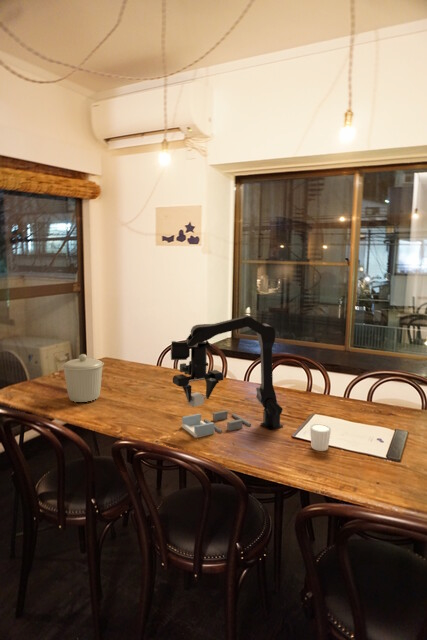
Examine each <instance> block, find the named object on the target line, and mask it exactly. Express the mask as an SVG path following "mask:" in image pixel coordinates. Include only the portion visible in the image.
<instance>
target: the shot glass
mask: <svg viewBox="0 0 427 640" xmlns="http://www.w3.org/2000/svg"><path fill="white" fill-rule="evenodd" d="M309 429H310V444H311V445H310V446H311V448H312V449H313V450H315V451H321V452H323V451H327V450H328V449H329V446H330V445H329V444H330V438H331V430H332V429H331V427H330V426H328V425H326V424H320V423H319V424H317V423H316V424H312V425H310V428H309Z"/></svg>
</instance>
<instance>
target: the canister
mask: <svg viewBox="0 0 427 640" xmlns="http://www.w3.org/2000/svg"><path fill="white" fill-rule="evenodd" d="M104 365H105V362H103V361H101V360H100V359H97V358H90V357H89V358H88V355H86V353H81V354H79V356H78V358H76V359H75V358H73V359H70V360H68V361H66V362H65V363H63V364H62V365H61V368H62V369H63V373H64V378H65V380H64V381H65V386H66V390H67V396H68V399H69V400H70V401H71V402H73V401H74V402H73V403H76V402H87V401H91V402H93V401H92V400H94V401H96V400H97V399H98V398H99V397H100V394H101V387H102V377H103V376H102V375H103V366H104ZM95 399H96V400H95ZM87 403H88V402H87Z"/></svg>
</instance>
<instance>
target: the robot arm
mask: <svg viewBox="0 0 427 640" xmlns="http://www.w3.org/2000/svg"><path fill="white" fill-rule="evenodd" d="M244 328H249V329H251V330H252V331H254V332H255V333H256V338H257V341H258V344H259V348H260V378H261V379H260V385H259V387H256V388H255V390H256V396H255V397H256V399H257V400H258V402H259V403H260V405H262V407H263V418H262V419H263V421H262V422H259V424H260V425H261V426H262V427H264V428H266V429H268V430H276V429H279V428H283V427H284V425H283V424H281V415H282V413H283V410H284V409H283V407H282V406H281V405H280V404H279V403H278V400H277V394H276V391H275V388H274V385H273V384H274V382H273V378H274V377H273V375H274V374H273V347H274V345H275V342H276V341H275V340H276V336H277V332H276V329H275V328H274V327H273V326H271V325H269V324H267V323H261V322H259V321H258V320H256V319H254V318H253V317H252V316H250V315H248V314H244V315H242V316H239V317H235V318H231V319H227V320H223V321H220V322H216V323H204V324H202V323H200V324H196V325H193V326H192V327H191V328H190V333H189V335H188V336H187V338H186V339H185V341H175V340H172V341H171V345H170V346H171V348H170V360H171V361H186V360H187V359H188V358H190V360H189V362H188V364H187V363H185V362H183V363H180V364H179V372H180V373H184V374H175V375H173V377H172V383H173V384H174V385H175V386H177V387H181V388H182V389H183V392H184V394H185V396H186V397H185V398H186V400H187V403H188V402H190V400H191V394H192V387H193V386H192V384H190V382H191V383H192V382H197V381H205V384H206V386H205V387H206V388H205V397H206V398H207V399H206V400H209V399H210V397H211V394H212V393H213V390H214V389H215V387H216V385H218V384H219V383H220V382H221V381H224V378H225V376H224V373H223V372H222V371H220V370H217V369H214V370H213V369H212V370H208V371H207V367H208V366H209V363H208V362H207V358H208V357H207V354H208V351H207V350H208V349H212V348H213V345H212V344H211V343H210V342H209V341H208V340H211V339H213V338H214V337H215V336H216V337H217V336H218V335H221V334H224V333H229V332H232V331H236V330H240V329H244ZM186 375H188V376H186Z"/></svg>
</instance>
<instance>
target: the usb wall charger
mask: <svg viewBox="0 0 427 640" xmlns="http://www.w3.org/2000/svg"><path fill="white" fill-rule="evenodd" d="M205 400H208V399H207V398H206V396H204V393H200V392H194V393H191V400H190V402H188V401H187V405H188V406H190V407H192V408H196V407H199V406H202V405H204V401H205Z"/></svg>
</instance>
